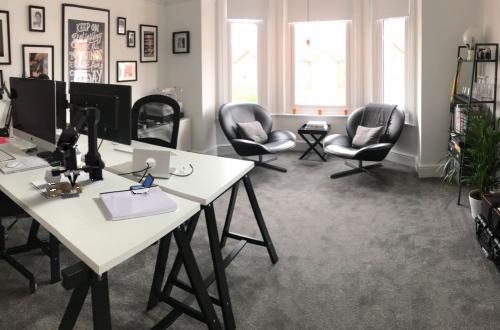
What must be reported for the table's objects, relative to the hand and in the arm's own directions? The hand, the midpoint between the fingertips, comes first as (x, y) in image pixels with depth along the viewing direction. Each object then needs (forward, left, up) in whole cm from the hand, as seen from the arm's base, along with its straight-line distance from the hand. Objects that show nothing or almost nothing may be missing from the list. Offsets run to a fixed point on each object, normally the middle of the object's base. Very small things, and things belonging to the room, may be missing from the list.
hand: (73, 187), depth 218 cm
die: (+8, -18, -2) cm, 20 cm away
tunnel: (+4, 0, -2) cm, 5 cm away
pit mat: (+3, +8, -2) cm, 9 cm away
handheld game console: (-31, +14, -2) cm, 34 cm away
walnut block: (+5, 0, -2) cm, 5 cm away
